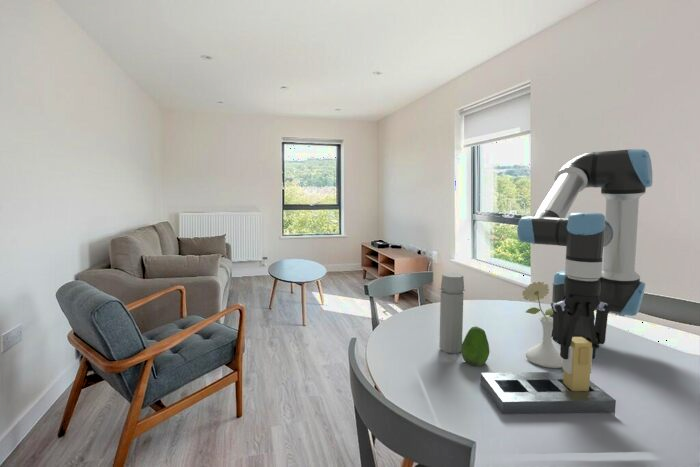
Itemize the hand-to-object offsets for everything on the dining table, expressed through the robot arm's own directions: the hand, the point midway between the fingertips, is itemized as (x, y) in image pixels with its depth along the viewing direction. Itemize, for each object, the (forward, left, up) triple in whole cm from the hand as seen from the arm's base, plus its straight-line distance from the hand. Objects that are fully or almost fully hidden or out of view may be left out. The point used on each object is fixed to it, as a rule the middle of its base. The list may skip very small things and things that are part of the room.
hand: (576, 370), depth 94 cm
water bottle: (+22, -32, -8) cm, 40 cm away
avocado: (+18, -20, -8) cm, 28 cm away
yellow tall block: (0, 0, -4) cm, 4 cm away
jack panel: (+8, 0, -8) cm, 11 cm away
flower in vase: (-3, -21, -8) cm, 23 cm away
